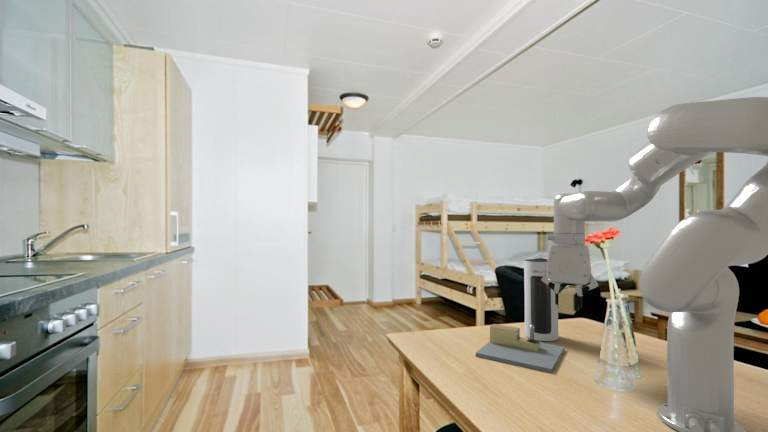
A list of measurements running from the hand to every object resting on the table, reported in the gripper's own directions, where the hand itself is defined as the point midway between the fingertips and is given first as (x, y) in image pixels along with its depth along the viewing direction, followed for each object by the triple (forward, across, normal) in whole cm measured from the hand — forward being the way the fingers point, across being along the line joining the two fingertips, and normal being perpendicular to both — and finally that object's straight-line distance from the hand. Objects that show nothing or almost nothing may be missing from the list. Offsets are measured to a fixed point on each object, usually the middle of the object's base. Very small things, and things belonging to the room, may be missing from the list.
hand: (568, 308), depth 96 cm
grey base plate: (+16, -13, +3) cm, 20 cm away
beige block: (+1, 0, +3) cm, 3 cm away
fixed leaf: (+15, -15, +5) cm, 22 cm away
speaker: (+16, -12, +22) cm, 30 cm away
